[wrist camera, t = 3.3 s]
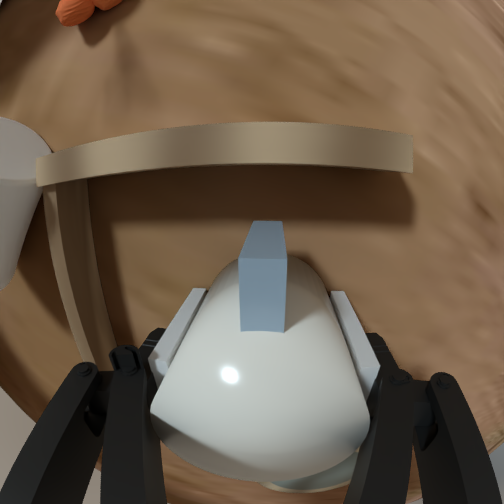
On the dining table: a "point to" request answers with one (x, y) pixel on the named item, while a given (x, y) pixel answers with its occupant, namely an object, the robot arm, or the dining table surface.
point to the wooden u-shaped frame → (169, 157)
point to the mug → (17, 190)
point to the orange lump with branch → (80, 10)
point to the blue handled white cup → (263, 373)
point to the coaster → (318, 479)
